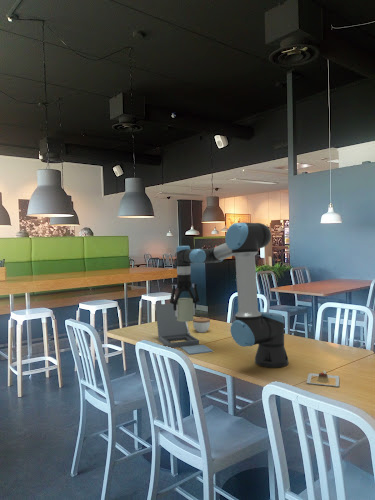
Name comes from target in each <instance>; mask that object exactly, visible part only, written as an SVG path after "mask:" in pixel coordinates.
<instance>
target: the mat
mask: <svg viewBox="0 0 375 500" xmlns="http://www.w3.org/2000/svg"><path fill="white" fill-rule="evenodd" d="M180 349H181V350H182V351H184V352H185V353H186V354H187V355H197V354H205V353H213V352H214V350H213V349H211V348H209V347H208V346H206V345H204V344H199V345H193V346H184V347H180Z"/></svg>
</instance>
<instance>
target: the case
mask: <svg viewBox="0 0 375 500" xmlns="http://www.w3.org/2000/svg"><path fill="white" fill-rule="evenodd" d="M155 311H156V312H155V313H156V315H155V316H156V323H157V324H156V326H157V334H158V341H159V342H160V343H161V344H162V345H163V346H164V347H166V346H168V347H172V348H171V349H174V348H181V347H186V346H194V345H200V339H198V338H196V336H195V337H194V336H193V335H192V334H191V332H190V329H189V326H188V322H180V321H177V317H176V316H175V310H174V309H173V304H172V303H164V304H163V303H162V304H155Z"/></svg>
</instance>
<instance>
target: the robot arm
mask: <svg viewBox="0 0 375 500" xmlns="http://www.w3.org/2000/svg"><path fill="white" fill-rule="evenodd" d="M271 239H272V233H271V230H270V228H269V227H268V226H267V225H266V224H265V223H260V222H236V223H232V224H231V225H230V226H229V227H228V229H227V231H226V232H225V243H221V244H219V245H217V246H214V247H212V248H192V249H191V247H190V245H178V246H176V253H175V254H176V274H177V275H176V281H177V282H176V284H171V293H170V298H169V304H173V309H174V310H175V316H176V317H178V304H177V301H178V299H179V298H181V294H182V292H187V294H188V295H189V298H192V299H193V316H195V314H196V309H197V304H198V302H200V297H199V293H198V289H197V285H198V284H197V283H192V274H191V273H192V272H191V271H192V270H191V268H192V267H191V265H192V264H193V265H194V264H195V265H200V264H209V263H221V262H223V261H224V260H225V259H228V258H231V257H233V256H234V258H235V272H236V273H235V274H236V276H235V277H236V289H237V308H238V309H237V310H238V311H237V312H236V314H235V315H234V317H235V320H234V321H233V322H232V323H231V325H230V336H231V337H232V340H233V341H234V342H235V343H236V344H237V345H238V346H240V347H252V346H254V345H257V349H256V353H255V356H254V363H255V364H256V365H258V366H260V367H264V368H275V369H276V368H284V367H287V366H288V365H289V356H288V354H287V351H286V348H285V318H284V316H283V315H282V314H280V313H275V312H268V311H265V312H264V311H260V310H259V307H258V306H259V305H258V290H257V289H258V288H257V270H256V255H258V254H259V249H263V248H265V247H267V246H268V245H269V244H270V242H271ZM177 288H178V289H177ZM191 288H192V289H193V293H192V290H191ZM176 289H177V293H176Z"/></svg>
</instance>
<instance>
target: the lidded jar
mask: <svg viewBox="0 0 375 500" xmlns="http://www.w3.org/2000/svg"><path fill="white" fill-rule="evenodd" d="M193 319H194V320H193V321H192V325H193V329H194V330H195V331H196V332H197V333H198V334H199V333H206V331H208V330H209V329H210V325H211V322H210V321H211V319H210V317H209V318H208V317H203V316H200V317H195V318H194V317H193Z"/></svg>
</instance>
